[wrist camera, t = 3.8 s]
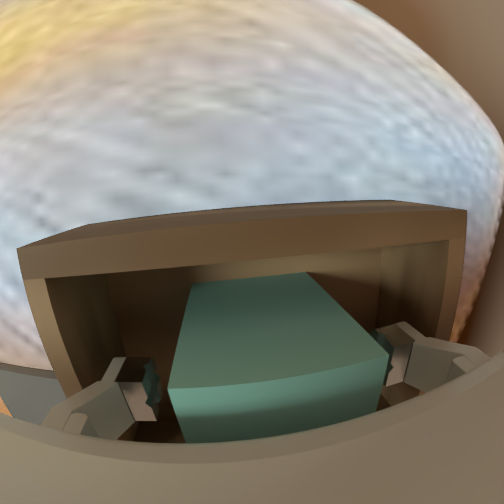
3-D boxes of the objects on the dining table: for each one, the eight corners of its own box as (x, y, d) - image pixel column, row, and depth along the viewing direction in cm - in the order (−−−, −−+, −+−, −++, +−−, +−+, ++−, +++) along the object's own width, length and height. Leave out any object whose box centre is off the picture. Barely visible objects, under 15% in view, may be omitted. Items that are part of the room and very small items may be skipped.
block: (304, 363, 14) (356, 467, 7) (207, 375, 13) (207, 493, 6) (305, 271, 12) (389, 354, 6) (192, 283, 12) (167, 388, 5)
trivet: (167, 481, 16) (166, 488, 15) (52, 461, 15) (50, 467, 14) (115, 375, 13) (111, 383, 13) (-11, 360, 12) (-16, 365, 11)
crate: (373, 377, 16) (416, 431, 10) (135, 407, 14) (116, 475, 9) (389, 199, 13) (466, 210, 8) (86, 224, 12) (16, 248, 6)
